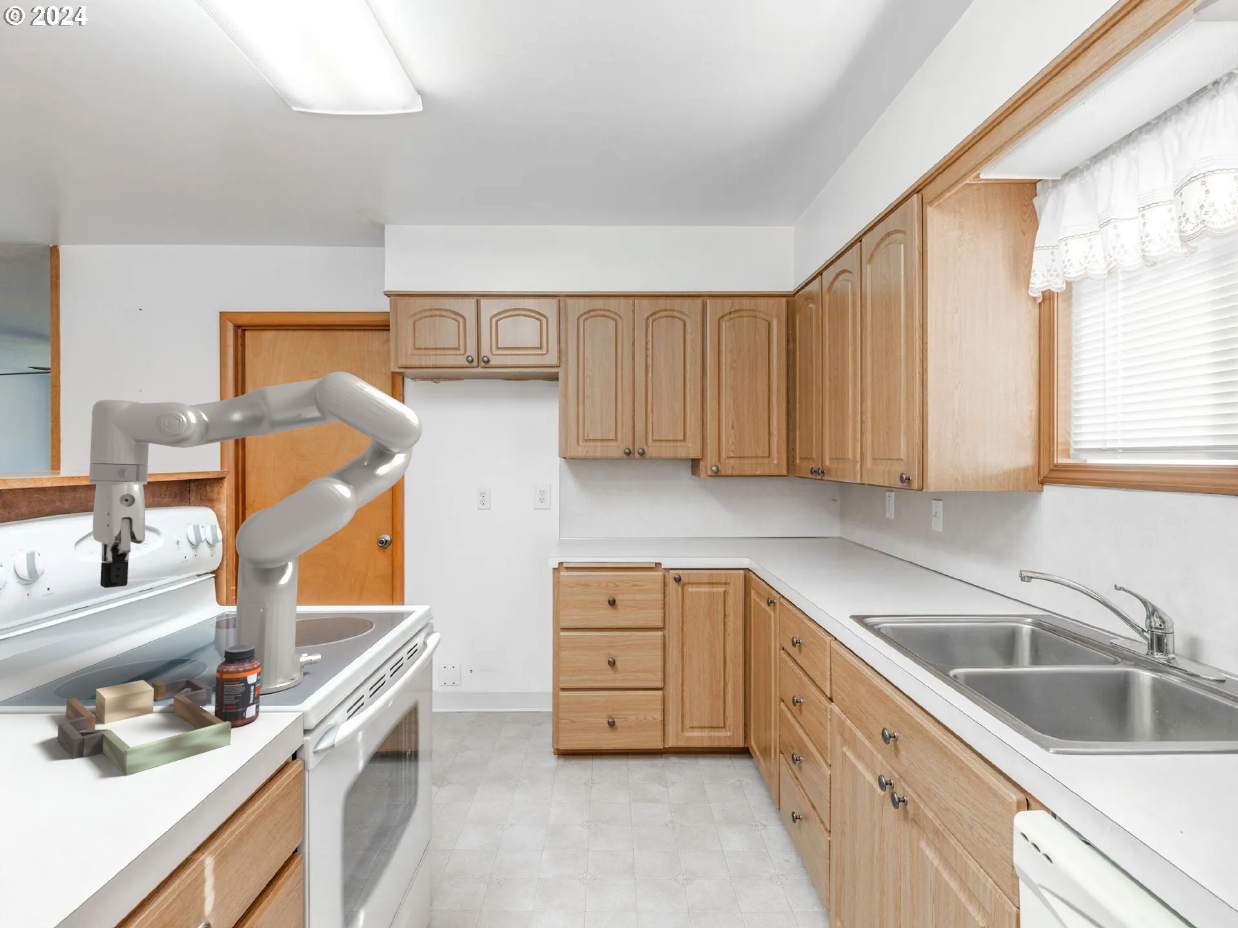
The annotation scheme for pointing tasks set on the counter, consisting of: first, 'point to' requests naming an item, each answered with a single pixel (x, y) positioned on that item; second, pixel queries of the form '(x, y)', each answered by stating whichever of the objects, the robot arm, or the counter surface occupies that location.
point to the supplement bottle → (238, 686)
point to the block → (124, 701)
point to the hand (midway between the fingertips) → (113, 585)
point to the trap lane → (187, 701)
